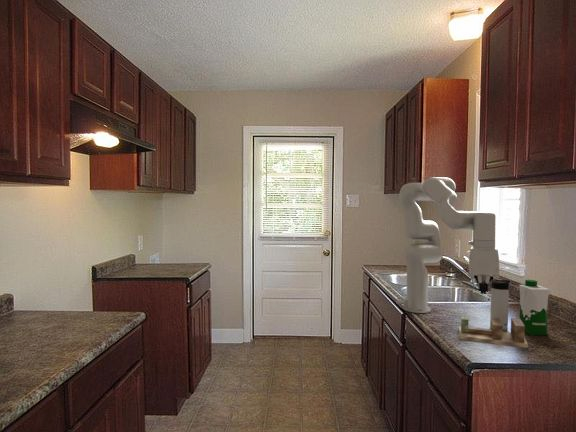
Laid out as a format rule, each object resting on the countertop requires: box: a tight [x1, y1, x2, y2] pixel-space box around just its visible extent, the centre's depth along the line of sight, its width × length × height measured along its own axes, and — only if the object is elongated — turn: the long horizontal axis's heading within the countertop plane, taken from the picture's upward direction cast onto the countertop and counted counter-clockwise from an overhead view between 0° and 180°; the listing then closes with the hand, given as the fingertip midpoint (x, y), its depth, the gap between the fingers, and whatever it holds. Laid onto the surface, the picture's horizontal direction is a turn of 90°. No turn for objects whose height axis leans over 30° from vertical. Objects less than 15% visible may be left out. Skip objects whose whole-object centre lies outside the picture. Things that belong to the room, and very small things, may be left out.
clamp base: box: [458, 317, 529, 349], centre depth 147 cm, size 22×12×7 cm, turn 67°
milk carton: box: [518, 279, 551, 336], centre depth 155 cm, size 9×9×20 cm
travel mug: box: [490, 279, 511, 332], centre depth 157 cm, size 6×7×20 cm
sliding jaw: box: [460, 315, 502, 339], centre depth 149 cm, size 13×10×5 cm
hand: (483, 293), depth 148 cm, fingers closed
